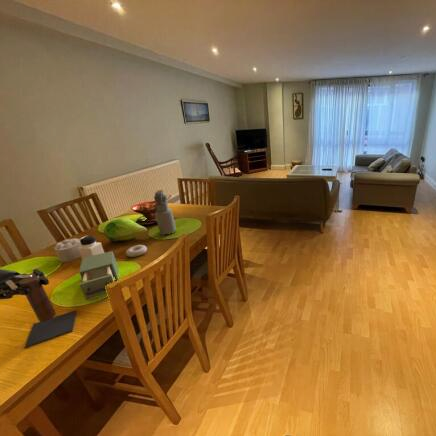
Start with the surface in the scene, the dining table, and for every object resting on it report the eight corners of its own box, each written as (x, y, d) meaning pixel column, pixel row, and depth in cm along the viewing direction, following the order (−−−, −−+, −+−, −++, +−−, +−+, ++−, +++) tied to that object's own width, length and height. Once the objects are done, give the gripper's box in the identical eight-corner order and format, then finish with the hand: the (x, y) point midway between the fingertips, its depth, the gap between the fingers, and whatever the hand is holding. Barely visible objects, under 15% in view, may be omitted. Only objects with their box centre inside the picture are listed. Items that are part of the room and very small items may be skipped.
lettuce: (150, 234, 161) (143, 248, 149) (111, 231, 155) (100, 245, 142) (149, 215, 155) (142, 228, 142) (109, 211, 148) (97, 224, 135)
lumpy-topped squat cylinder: (87, 248, 139) (82, 235, 136) (79, 259, 128) (73, 245, 125) (65, 252, 136) (59, 238, 132) (54, 263, 124) (47, 249, 121)
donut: (150, 248, 139) (131, 249, 138) (149, 243, 138) (129, 244, 136) (143, 257, 130) (123, 259, 129) (142, 251, 129) (121, 253, 127)
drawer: (116, 296, 100) (111, 280, 97) (85, 306, 94) (78, 290, 92) (116, 276, 113) (111, 262, 110) (88, 284, 107) (82, 269, 104)
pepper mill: (54, 318, 84) (36, 280, 77) (37, 323, 81) (16, 285, 75) (56, 310, 87) (39, 273, 81) (40, 315, 85) (20, 278, 78)
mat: (72, 331, 85) (72, 330, 84) (25, 348, 78) (24, 347, 78) (76, 310, 94) (76, 309, 93) (34, 324, 87) (33, 323, 87)
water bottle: (174, 234, 156) (165, 193, 145) (158, 236, 153) (148, 194, 143) (177, 228, 165) (169, 189, 154) (161, 230, 162) (152, 190, 152)
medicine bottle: (105, 253, 134) (98, 234, 130) (94, 260, 128) (87, 240, 123) (93, 253, 135) (85, 233, 130) (81, 259, 128) (74, 240, 123)
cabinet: (118, 280, 111) (112, 263, 107) (86, 290, 105) (79, 272, 101) (118, 267, 121) (112, 250, 118) (89, 275, 115) (82, 258, 112)
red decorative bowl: (172, 211, 196) (168, 192, 190) (178, 220, 177) (174, 200, 171) (132, 219, 181) (126, 199, 175) (135, 230, 163) (128, 207, 156)
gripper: (-38, 285, 73) (5, 291, 71) (18, 260, 86) (57, 265, 84) (-26, 304, 76) (17, 311, 73) (27, 277, 89) (65, 282, 86)
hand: (38, 286), depth 79 cm, fingers closed on pepper mill, 4 cm apart
